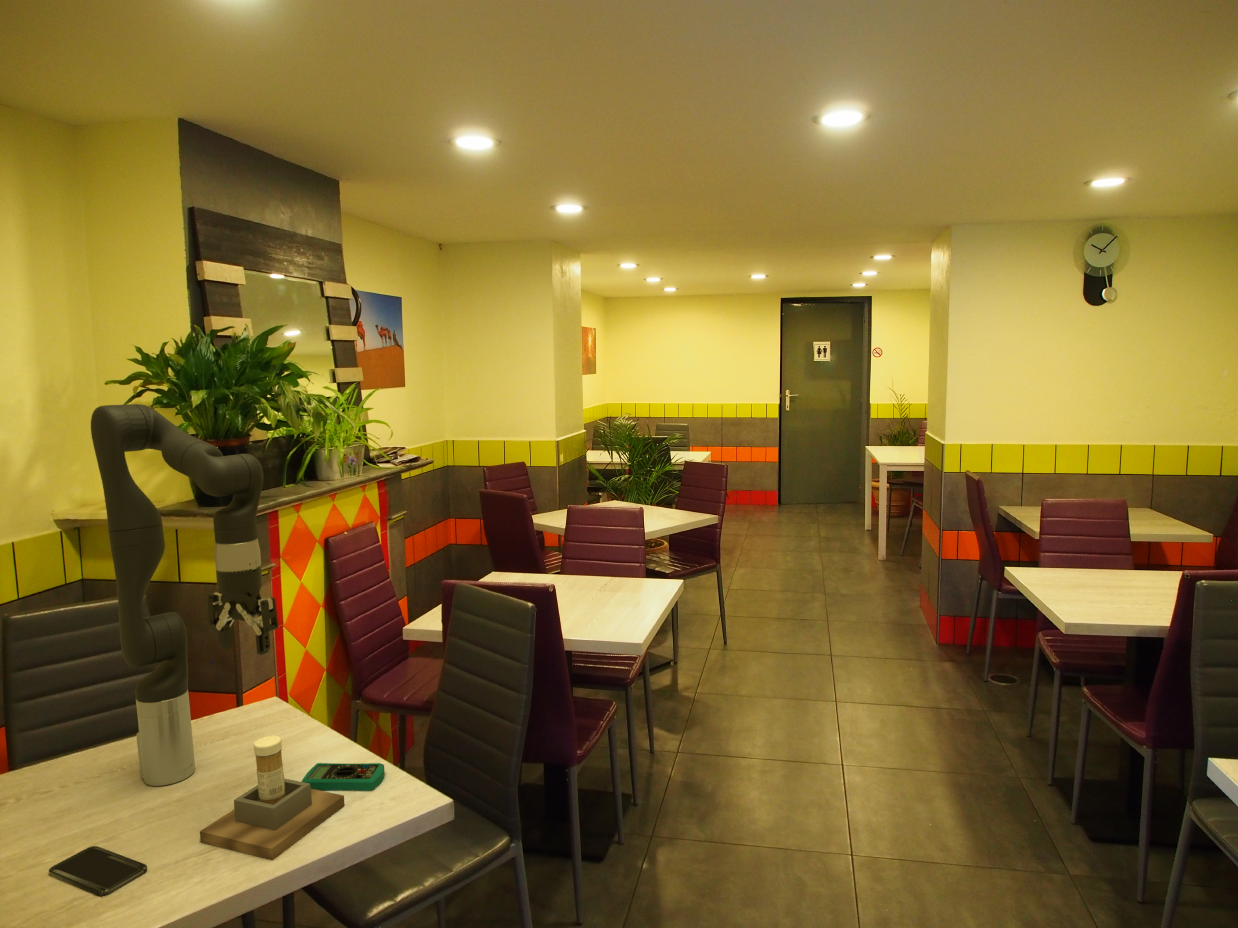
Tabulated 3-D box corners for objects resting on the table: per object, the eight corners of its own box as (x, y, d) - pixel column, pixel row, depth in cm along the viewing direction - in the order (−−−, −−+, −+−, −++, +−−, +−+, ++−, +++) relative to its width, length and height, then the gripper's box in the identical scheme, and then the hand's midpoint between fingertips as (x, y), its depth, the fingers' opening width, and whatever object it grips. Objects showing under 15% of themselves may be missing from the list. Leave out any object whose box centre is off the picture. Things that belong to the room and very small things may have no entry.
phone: (102, 893, 128) (45, 869, 135) (103, 899, 128) (46, 875, 135) (150, 865, 135) (94, 843, 142) (151, 871, 135) (94, 850, 142)
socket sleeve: (235, 821, 146) (233, 799, 145) (273, 795, 154) (271, 775, 154) (275, 830, 142) (273, 808, 142) (311, 804, 151) (310, 783, 150)
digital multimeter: (375, 793, 159) (375, 778, 159) (300, 793, 160) (299, 778, 159) (388, 774, 166) (387, 760, 166) (315, 774, 167) (314, 760, 167)
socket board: (200, 841, 143) (199, 829, 143) (277, 791, 160) (276, 780, 159) (272, 859, 137) (271, 847, 137) (344, 805, 154) (343, 794, 154)
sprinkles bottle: (286, 801, 151) (280, 732, 150) (288, 813, 147) (282, 742, 146) (259, 808, 149) (252, 738, 148) (260, 820, 145) (254, 748, 144)
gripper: (191, 566, 149) (199, 653, 151) (252, 572, 143) (259, 662, 145) (225, 557, 156) (232, 640, 158) (284, 562, 150) (290, 648, 152)
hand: (245, 650), depth 151 cm, fingers open, 8 cm apart
